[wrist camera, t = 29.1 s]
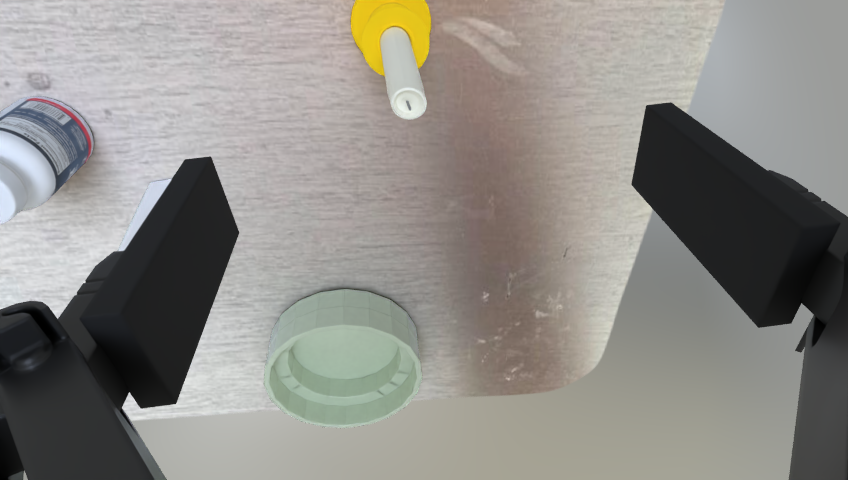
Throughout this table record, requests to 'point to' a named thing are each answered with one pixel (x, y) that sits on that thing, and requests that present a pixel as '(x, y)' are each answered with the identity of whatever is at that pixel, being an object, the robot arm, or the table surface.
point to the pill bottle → (38, 152)
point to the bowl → (343, 359)
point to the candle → (395, 48)
